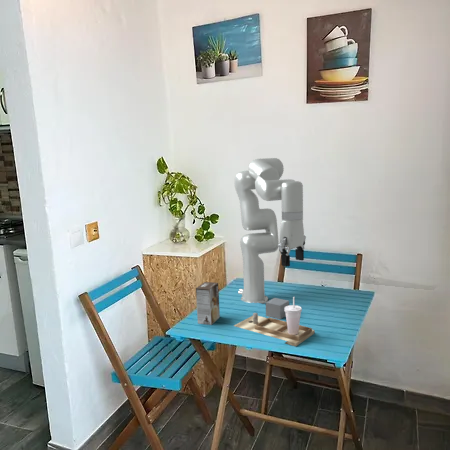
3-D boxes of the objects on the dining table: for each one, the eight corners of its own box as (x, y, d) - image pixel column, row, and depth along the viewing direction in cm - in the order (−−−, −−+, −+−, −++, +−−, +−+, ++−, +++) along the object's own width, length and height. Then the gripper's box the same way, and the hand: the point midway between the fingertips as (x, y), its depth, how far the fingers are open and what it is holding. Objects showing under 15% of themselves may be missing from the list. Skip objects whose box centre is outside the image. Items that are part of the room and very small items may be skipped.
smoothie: (290, 337, 160) (290, 300, 158) (281, 331, 166) (280, 295, 163) (305, 334, 162) (305, 297, 160) (295, 328, 168) (295, 292, 166)
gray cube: (265, 318, 182) (265, 302, 181) (274, 313, 188) (274, 297, 186) (280, 322, 178) (280, 305, 177) (289, 316, 183) (289, 300, 182)
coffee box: (206, 318, 185) (204, 281, 183) (220, 319, 183) (218, 282, 180) (197, 326, 177) (195, 288, 174) (212, 328, 175) (210, 289, 172)
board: (233, 328, 173) (233, 316, 172) (254, 317, 184) (253, 305, 183) (295, 346, 156) (295, 332, 155) (314, 333, 166) (314, 320, 165)
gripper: (295, 212, 165) (295, 256, 168) (270, 218, 152) (270, 266, 155) (313, 213, 161) (313, 259, 163) (288, 220, 147) (289, 269, 150)
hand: (292, 262), depth 159 cm, fingers open, 9 cm apart
